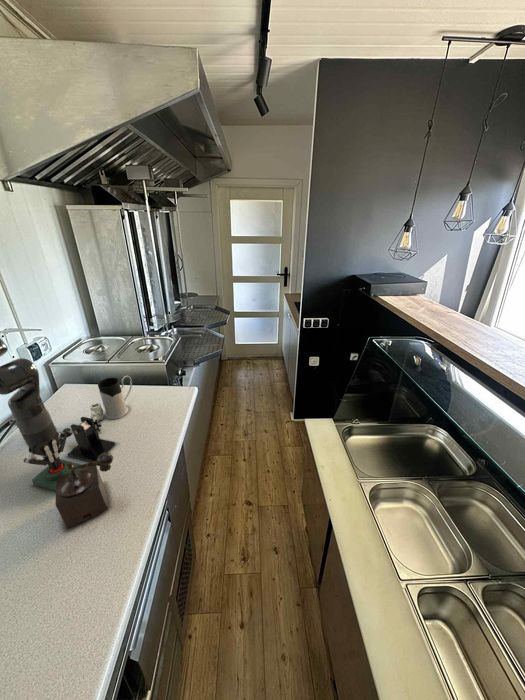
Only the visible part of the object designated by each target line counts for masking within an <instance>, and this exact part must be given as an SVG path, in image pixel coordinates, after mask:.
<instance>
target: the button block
mask: <svg viewBox="0 0 525 700" xmlns="http://www.w3.org/2000/svg"><path fill="white" fill-rule="evenodd" d="M60 461H61V464H63V466H64V467H63V469H62V470H61V471H59V472H57V473H54V474H51V473H50V471H49V470H50V468H49V466H48V465H47V466H46V467H45V468H44V469H42V471H41V472H40V473H38V474H37V475H36V476H35V477H33V478H32V479H31V482H32V484H33V485H34V486H37V487H40V488H43V489H46V490H49V491H54V492H56V478H58V477H61V476H63V475H66V474H69V473H71V472H70V471H68V467H67V463H69V462H71V463H72V465H73V466H77V465H81V464H82V463H78V462H74V461H70V460H66V459H62V458H60ZM79 469H81V468H79ZM79 469H74V471H76V470H79Z"/></svg>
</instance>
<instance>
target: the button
mask: <svg viewBox="0 0 525 700" xmlns="http://www.w3.org/2000/svg"><path fill="white" fill-rule="evenodd" d="M60 465H61V467H59V468H58V469H57V470H53V469H50V470H49V471H50V473H51V474H54V473H57V472H59V471H61V470H62V469H63V467H64V466H63V464H60Z"/></svg>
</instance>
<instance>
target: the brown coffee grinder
mask: <svg viewBox="0 0 525 700" xmlns="http://www.w3.org/2000/svg"><path fill="white" fill-rule="evenodd" d="M113 460H114V456H113V455H112V453H111V452H107V453H102V454H100V455H99V456H98V458H97V462H86V463H80V464H81V465H77V466H73V465H72V463H71V462H72V461H70V462H69V463H67V467H68V471H70V472H71V473H69V474H66V475H63V476H61V477H58V478H56V491H55V507H56V509H57V510H58V513H59V515H60V517H61V518H62V520H63V522H64V524H65V526H66V528H67V529H70V528H72V527H74V526H77V525H79V524H81V523H83V522H87V521H88V520H90V519H92V518H94V517H95V516H97V515H99V514H101V513H103V512H105V511H106V510H108V508H109V501H108V493H107V488H106V485H105V483H104V481H103V479H102V477H101V474H100V472H99V471H101V472H108V471H110V470H111V467H112V463H113ZM98 467H99V469H98ZM79 468H81V469H79ZM74 469H79V470H76V471H74Z"/></svg>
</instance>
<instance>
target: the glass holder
mask: <svg viewBox="0 0 525 700" xmlns="http://www.w3.org/2000/svg"><path fill="white" fill-rule="evenodd" d="M127 377H128V378H129V390H128V392H127V394H126V396H124V393H123V390H122V389H123V388H124V380H125V378H127ZM97 387H98V390H99V391H98V392H99V395H100V398H101V401H102V405H103V408H104V411H105V417H106V418H107V419H109V420H116V419H120V418H123V417H124V416H125V415H127V414H128V412H129V407H128V406H127V403H126V401H127V399H128V397H129V396H130V393H131V391H132V388H133V380H132V377H131V376H129V375H124V376H123V377H122V378H121V382H120V380H119V379H118V378H117V377H108V378H105V379H102V380H100V381H99V382H98V383H97Z"/></svg>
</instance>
